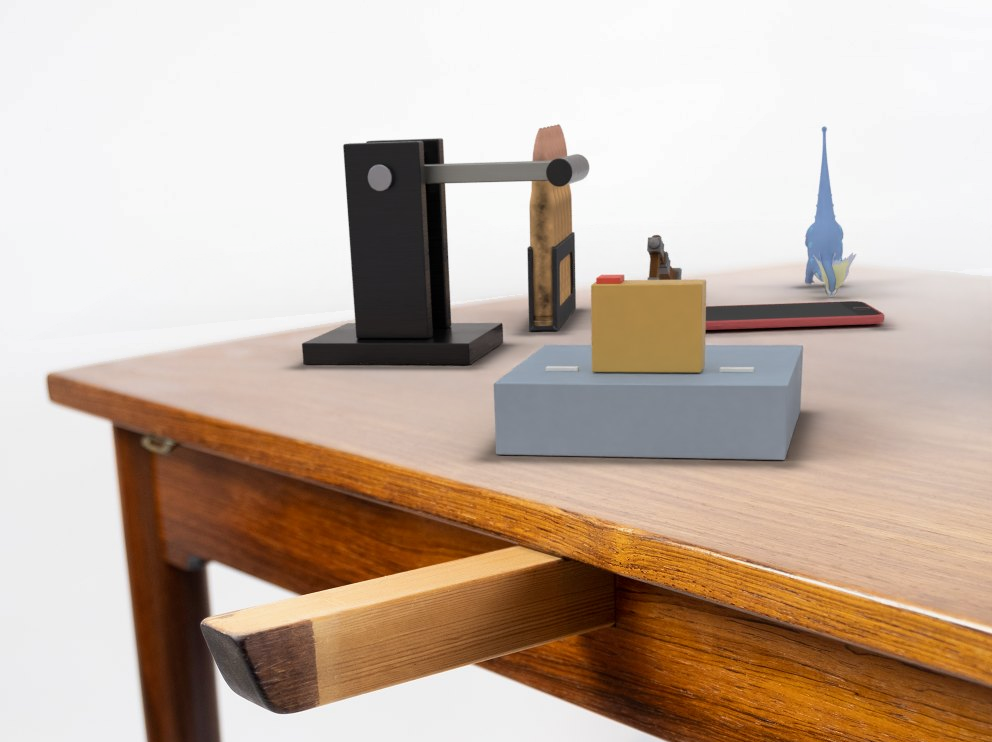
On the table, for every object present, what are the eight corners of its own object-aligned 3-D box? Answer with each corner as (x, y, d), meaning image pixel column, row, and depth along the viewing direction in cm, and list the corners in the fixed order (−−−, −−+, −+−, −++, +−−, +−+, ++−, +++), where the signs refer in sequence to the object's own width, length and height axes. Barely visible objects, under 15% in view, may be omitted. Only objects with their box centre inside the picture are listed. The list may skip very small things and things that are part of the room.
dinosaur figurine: (801, 338, 113) (813, 281, 103) (799, 153, 115) (812, 80, 106) (840, 337, 112) (856, 280, 103) (838, 151, 115) (854, 78, 105)
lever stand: (503, 342, 92) (496, 135, 88) (469, 365, 85) (460, 140, 80) (348, 342, 95) (334, 141, 90) (303, 364, 87) (285, 146, 83)
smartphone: (888, 315, 92) (658, 323, 92) (888, 324, 92) (658, 332, 92) (863, 300, 98) (647, 307, 99) (862, 309, 99) (647, 316, 99)
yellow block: (704, 367, 64) (706, 273, 62) (700, 373, 62) (702, 277, 61) (597, 366, 65) (596, 274, 63) (591, 372, 64) (590, 278, 62)
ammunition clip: (549, 308, 106) (546, 124, 101) (576, 308, 105) (573, 123, 101) (528, 331, 96) (523, 129, 91) (557, 330, 96) (554, 127, 91)
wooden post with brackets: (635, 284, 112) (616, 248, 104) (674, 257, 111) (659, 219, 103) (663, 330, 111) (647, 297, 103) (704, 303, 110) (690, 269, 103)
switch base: (800, 411, 70) (803, 341, 68) (784, 460, 61) (788, 381, 60) (545, 408, 73) (544, 341, 71) (495, 454, 64) (493, 379, 62)
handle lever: (589, 189, 86) (589, 144, 85) (572, 195, 82) (571, 148, 81) (387, 194, 89) (384, 151, 88) (359, 200, 85) (356, 155, 84)
